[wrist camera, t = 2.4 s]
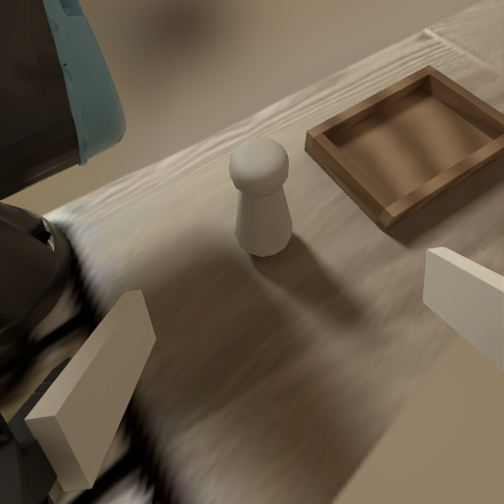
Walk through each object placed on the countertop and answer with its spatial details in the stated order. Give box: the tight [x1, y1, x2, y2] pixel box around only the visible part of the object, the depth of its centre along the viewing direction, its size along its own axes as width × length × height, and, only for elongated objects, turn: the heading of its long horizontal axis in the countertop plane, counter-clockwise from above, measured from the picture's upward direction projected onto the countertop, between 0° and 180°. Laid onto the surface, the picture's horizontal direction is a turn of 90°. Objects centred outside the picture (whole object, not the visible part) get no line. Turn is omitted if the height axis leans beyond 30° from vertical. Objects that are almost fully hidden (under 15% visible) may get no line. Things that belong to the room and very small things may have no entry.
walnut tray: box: [305, 65, 504, 232], centre depth 34 cm, size 19×14×3 cm
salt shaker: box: [229, 137, 292, 257], centre depth 26 cm, size 6×6×13 cm
